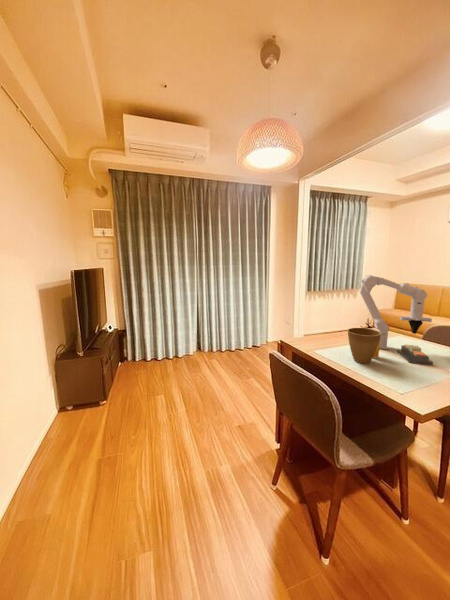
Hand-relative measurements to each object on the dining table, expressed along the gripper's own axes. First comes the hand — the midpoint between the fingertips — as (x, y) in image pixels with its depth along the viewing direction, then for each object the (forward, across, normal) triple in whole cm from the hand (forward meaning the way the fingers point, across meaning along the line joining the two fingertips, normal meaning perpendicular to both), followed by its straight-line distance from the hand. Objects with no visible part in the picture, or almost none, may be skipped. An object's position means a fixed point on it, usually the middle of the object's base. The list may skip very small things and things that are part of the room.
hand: (413, 333), depth 140 cm
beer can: (+11, -25, -16) cm, 32 cm away
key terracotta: (+9, -4, -18) cm, 20 cm away
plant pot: (+11, -32, -24) cm, 41 cm away
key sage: (+7, -4, -13) cm, 15 cm away
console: (+10, -4, -12) cm, 17 cm away
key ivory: (+8, -4, -7) cm, 12 cm away
